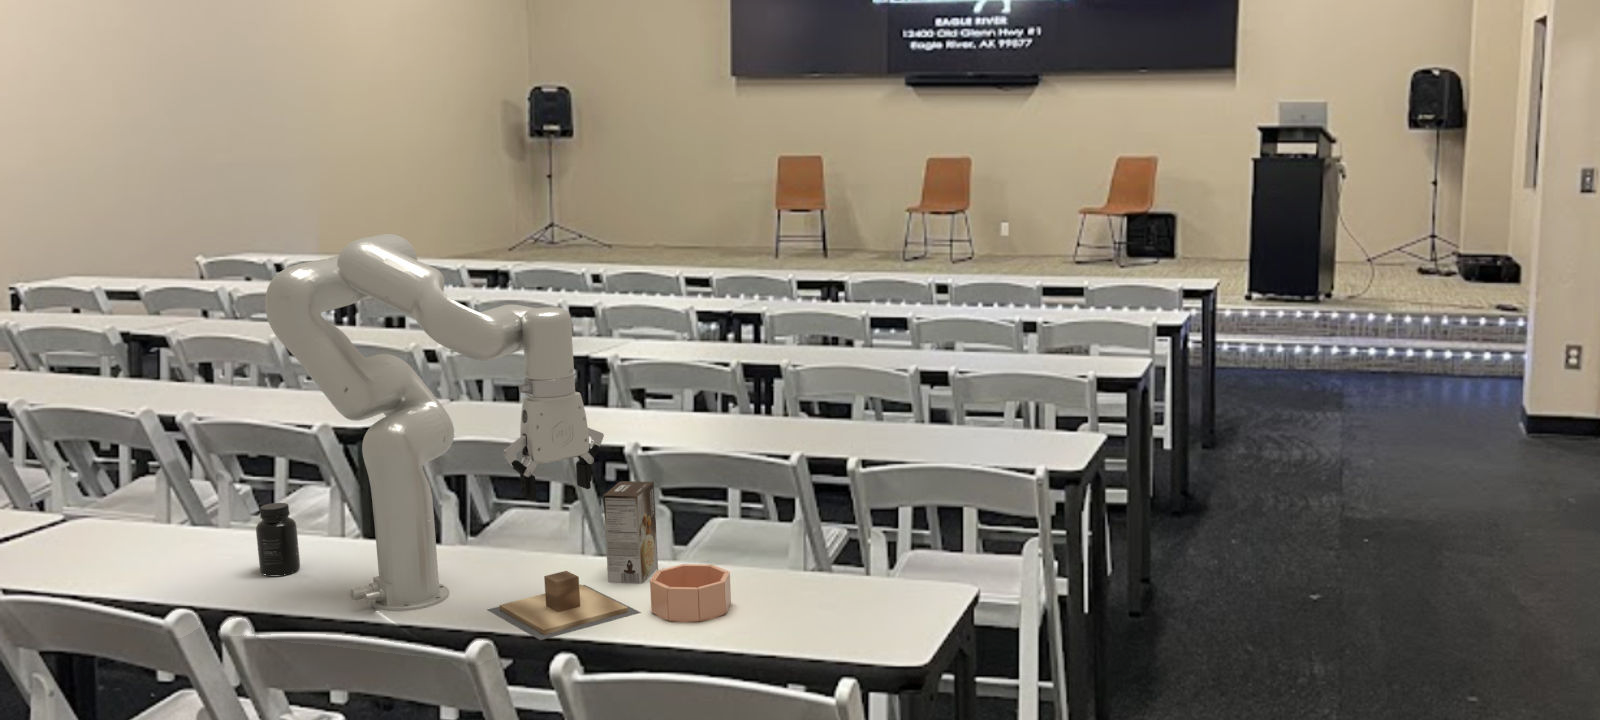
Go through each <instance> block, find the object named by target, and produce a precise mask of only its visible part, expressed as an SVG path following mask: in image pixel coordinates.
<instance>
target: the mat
mask: <svg viewBox="0 0 1600 720" xmlns="http://www.w3.org/2000/svg"><path fill="white" fill-rule="evenodd" d="M582 585H583V586H585V587H587V588H589V589H591V590H593V591H595V592H597V593H600V594H602V595H604V596H606V597H608V598H610V599H612V600H614V601H616V602H618V603H620V604H622V605H624V606H626V607H628V612H627V613H623V614H619V615H616V616H612V617H608V618H605V619H601V620H597V621H594V622H590V623H586V624H583V625H579V626H575V627H572V628H568V629H564V630H560V631H557V632H553V633H549V634H546V635H544V634H542V633H540V632H538V631H536V630H535V629H533V628H531V627H529V626H528V625H526V624H524V623H522V622H520V621H519V620H517V619H515V618H513V617H512V616H510V615H508V614H506V613H505V612H503V611H501V610H500V607H499V606H495V607H492V608H489V609H488V608H487V609H486V611H488V612H490V613H492V614H493V615H495V616H497V617H499V618H500V619H502V620H504V621H506V622H507V623H510V624H511V625H513V626H515V627H516V628H518V629H520V630H521V631H523V632H525V633H526V634H528V635H530V636H532V637H533V638H535V639H537V640H538V641H542V640H546V639H550V638H553V637H557V636H560V635H561V636H562V635H564V634H569V633H572V632H576V631H579V630H582V629H583V630H584V629H586V628H590V627H594V626H597V625H602V624H605V623H608V622H612V621H616V620H618V619H619V620H620V619H624V618H626V617H630V616H634V615H638V614H641V613H642V612H641V611H639V610H637V609H635V608H633V607H631V606H629V605H628V604H625V603H623V602H621V601H618V600H616V599H614V598H613V597H610V596H608V595H606V594H604V593H602V592H601V591H598V590H596V589H594V588H592V587H591V586H588V585H586V584H582Z"/></svg>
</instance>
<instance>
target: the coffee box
mask: <svg viewBox="0 0 1600 720" xmlns="http://www.w3.org/2000/svg"><path fill="white" fill-rule="evenodd" d="M602 497H603V511H604V512H603V514H604V515H603V516H604V517H603V518H604V529H605V530H604V533H605V547H606V551H605V552H606V564H607V565H606V566H607V568H606V569H607V583H610V584H611V583H612V584H613V583H615V584H636V585H637V584H641V585H642V584H644V583H645V582H646V581H647V580H648V579H649V577H651V576H652V575H654V572H656V571H658V570H659V562H658V561H659V560H658V558H659V557H658V542H657V540H658V539H657V522H656V518H657V517H656V503H655V501H656V500H655V481H629V480H628V481H626V480H625V481H619V482H617V483H616V484H615V485H614V486H613V487H611V488H610V489H609V490H608V491H606V492H605V493H604V494H603V495H602Z"/></svg>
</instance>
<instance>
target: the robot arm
mask: <svg viewBox="0 0 1600 720" xmlns="http://www.w3.org/2000/svg"><path fill="white" fill-rule="evenodd" d="M417 255H418V254H417V252H416V250H415V248H414V247H413V245H412V244H411V243H410V242H409V241H408V240H407V239H405V238H404V237H402V236H400V235H397V234H393V233H384V234H378V235H374V236H368V237H362V238H358V239H355V240H353V241H351V242H349V243H348V244H347V245H346V246H344V248H342V250H341V252H339V254H337V255H335V256H331V257H327V258H322V259H317V260H311V261H307V262H306V261H305V262H301V263H298V264H294V265H291V266H289V267H286V268H283V270H281V271H280V272H278V273H277V274H276V275H274V276H273V278H272V279H271V281H270V282H269V284H268V286H267V289H266V292H265V299H264V306H265V308H264V309H265V314H266V315H265V316H266V318H267V321H268V324H269V326H270V329H271V331H273V333H274V335H275V336H276V337H277V339H278V340H279V341H280V343H281V344H282V345H283V346H284V347H285V348H286V349H287V350H288V351H289V352H290V354H292V356H293V357H294V358H295V359H296V360H297V361H298V362H299V363H300V365H301V366H302V367H303V368H304V369H305V371H306V372H307V374H308V375H309V377H310V378H311V379H312V380H313V382H314V383H315V384H316V385H317V387H318V388H319V390H320V391H321V392H322V393H323V395H324V396H325V397H326V398H327V400H328V401H329V402H330V403H331V404H332V406H333V407H334V408H335V409H336V411H337V412H338V413H339V414H341V416H342V417H344V418H345V419H347V420H349V421H353V422H354V421H355V422H356V421H357V422H358V421H364V420H367V419H371V418H373V417H376V416H378V415H381V414H383V415H384V416H385V417H382V418H381V419H379V420H377V421H376V422H374V423H373V424H372V425H371V426H370V427H369V428H368V429H367V431H366V432H365V434H364V436H363V440H362V444H361V445H362V446H361V447H362V448H361V452H362V457H363V462H364V466H365V468H366V471H367V475H368V481H369V485H370V492H371V499H372V512H373V521H374V531H375V533H374V534H375V547H376V554H377V555H376V557H377V568H378V569H377V570H378V575H376V576H373V577H372V580H373V582H371V583H368V585H367V586H364V587H363V586H360V587H356V588H351V590H350V591H349V593H350V597H351V600H352V601H354V602H355V601H357V600H363V599H364V600H365V602H369V601H370V603H371V606H372V608H373V609H377V610H378V609H379V610H382V611H388V612H389V611H390V612H407V611H408V612H409V611H416V610H420V609H421V610H422V609H426V608H427V609H428V608H430V607H434V606H437V605H438V604H441V603H443V602H444V601H446V600H447V599H448V598H449V597H450V588H448V587H447V585H444V584H441V583H440V582H439V581H440V580H439V578H440V577H439V566H438V554H437V541H436V527H435V514H434V513H435V512H434V503H433V502H434V501H433V494H432V490H431V484H430V482H429V479H428V478H427V476H426V474H425V471H424V468H423V467H424V465H425V464H426V463H428V462H430V461H432V460H435V459H437V458H439V457H441V456H443V455H444V454H446V452H447V451H449V449H450V448H451V446H452V445H453V442H454V438H455V428H454V424H453V420H452V419H451V416H450V414H449V413H448V412H447V411H446V409H445V408H444V406H443V405H442V404H441V402H440V401H439V400H438V398H437V397H436V396H435V395H434V393H433V392H432V391H431V390H430V389H429V387H428V386H427V385H426V384H425V382H424V381H423V379H422V378H421V377H420V376H419V375H418V373H417V372H416V371H415V370H414V369H413V367H411V365H409V364H408V363H407V362H406V361H404V360H403V359H402V358H400V357H398V356H397V355H393V354H387V353H382V354H381V353H380V354H374V355H372V356H368V357H366V356H364V354H362V353H361V352H360V351H359V349H357V347H355V345H354V344H353V343H352V341H351V340H350V338H349V337H348V336H347V335H346V334H345V333H344V332H343V331H342V330H341V329H340V328H339V327H338V326H336V325H334V324H333V323H331V322H329V321H328V320H326V319H325V318H324V317H323V316H322V313H324V312H325V313H326V312H329V311H332V310H336V309H340V308H344V307H347V306H350V305H354V304H356V303H358V302H361V301H363V300H366V299H368V298H372V299H374V300H376V301H379V302H381V303H383V304H385V305H387V306H388V307H391V308H393V309H396V310H397V311H399V312H401V313H404V314H405V315H408V316H409V317H411V318H414V320H415V321H416V323H417V325H418V326H419V327H420V328H421V330H423V331H424V333H425V334H426V335H428V336H429V338H430V339H432V341H434V342H436V343H438V344H439V345H441V346H443V347H445V348H447V349H449V350H451V351H453V352H455V353H456V354H457V353H458V354H460V355H461V356H463V357H466V358H469V359H471V360H475V361H479V362H489V361H490V362H491V361H494V360H496V359H499V358H503V357H504V356H507V355H511V354H514V353H517V352H520V351H523V358H524V373H525V374H524V375H525V378H524V383H523V384H519V385H518V391H519V393H520V394H525V395H526V397H524V398H522V399H523V400H522V405H521V406H522V407H521V411H520V412H521V414H520V429H519V430H520V437H519V438H517V439H516V440H515V441H513V442H512V443H511V444H510V445H508V446H507V447H506V448H504V449H503V450H502V455H503V457H504V458H505V460H506V461H507V463H508V466H509V467H511V468H512V469H513V470H514V471H516V473H517V474H519V477H520V491H521V495H523V496H522V497H523V498H524V499H526V500H529V501H530V502H531V501H532V502H534V501H536V500H537V485H536V484H537V483H536V476H535V475H533V473H534V470H535V469H536V468H537V465H538V464H547V463H552V462H558V461H563V460H568V459H569V460H570V459H573V458H577V459H578V461H576V463H575V469H576V483H577V487H580V488H583V489H586V490H589V489H591V487H592V486H591V482H592V480H593V479H592V477H593V476H592V464H593V463H594V461H595V457H596V456H597V455H598V453H599V452H600V450H601V449H600V448H601V445H602V443H603V440H604V436H605V434H604V433H603V432H601V431H598V430H595V429H593V428H590V427H588V420H587V414H586V410H585V406H584V405H585V404H584V401H583V398H582V394H581V393H580V392H578V391H576V384H575V382H576V380H575V367H574V364H575V363H574V349H573V330H572V319H571V315H570V312H569V311H568V310H566V309H565V308H563V307H562V308H561V307H553V306H552V307H551V306H549V307H548V306H547V307H531V306H527V305H525V306H524V305H520V304H504V305H501V306H497V307H493V308H490V309H487V310H483V311H481V312H480V311H478V310H475V309H472V308H471V307H468V306H466V305H464V304H462V303H460V302H458V301H456V300H454V299H453V298H452V297H449V296H448V295H447V294H446V293H445V292H444V290H445V277H444V275H443V273H442V272H441V271H440V270H439V269H437V268H435V267H433V266H430V265H428V264H426V263H424V262H421V261H419V260H418V257H417ZM590 439H591V440H590ZM520 451H521V456H522V459H521V460H520V461H519V460H518V457H517V454H518V453H519V452H520Z"/></svg>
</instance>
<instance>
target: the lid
mask: <svg viewBox="0 0 1600 720" xmlns="http://www.w3.org/2000/svg"><path fill="white" fill-rule="evenodd" d="M583 585H584V584H580V579H579V576H578V575H577V574H574V573H572V572H570V571H568V570H564V571H559V572H555V573H552V574H547V575H544V591H545V593H542V594H538V595H533V596H529V597H526V598H522V599H517V600H514V601H509V602H506V603H502V604H499V606H498V607H500V610H501V611H503V612H505V613H506V614H508V615H510V616H512V617H513V618H515V619H517V620H519V621H520V622H522V623H524V624H526V625H528V626H529V627H531V628H533V629H535V630H536V631H538V632H540V633H542V634H544V635H546V634H549V633H553V632H557V631H560V630H564V629H568V628H572V627H575V626H579V625H583V624H586V623H590V622H594V621H597V620H601V619H605V618H608V617H612V616H616V615H619V614H623V613H627V612H628V607H626V606H624V605H622V604H620V603H618V602H616V601H614V600H612V599H610V598H608V597H606V596H604V595H605V594H604V595H602V594H603V593H602V594H600V593H601V592H600V593H597V592H595V591H593V590H591V589H589V588H587V587H585V586H583Z"/></svg>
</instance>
